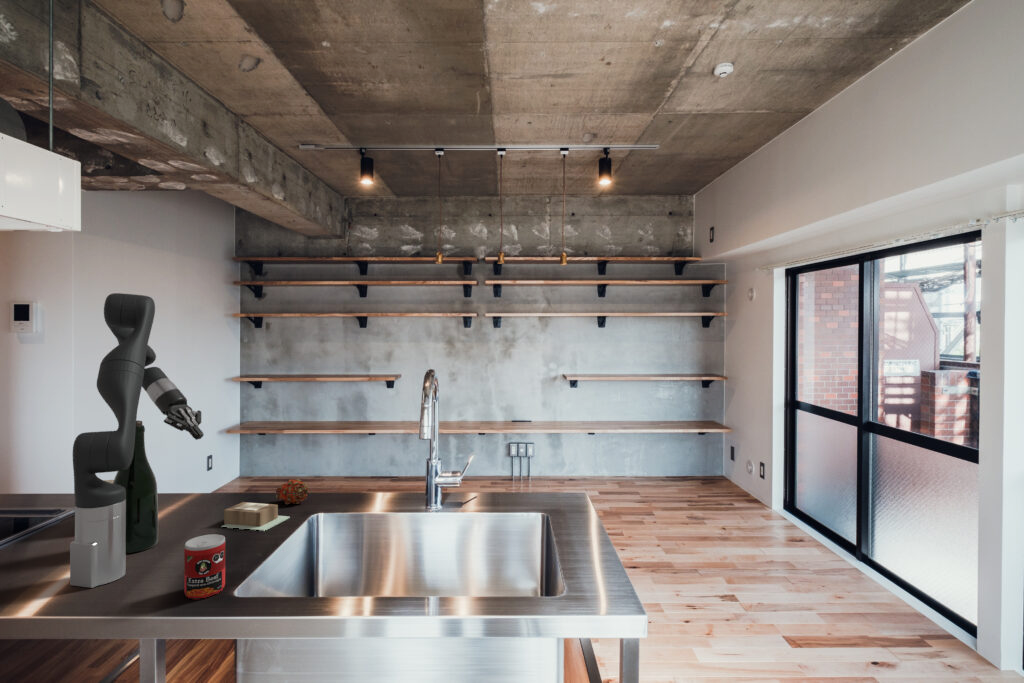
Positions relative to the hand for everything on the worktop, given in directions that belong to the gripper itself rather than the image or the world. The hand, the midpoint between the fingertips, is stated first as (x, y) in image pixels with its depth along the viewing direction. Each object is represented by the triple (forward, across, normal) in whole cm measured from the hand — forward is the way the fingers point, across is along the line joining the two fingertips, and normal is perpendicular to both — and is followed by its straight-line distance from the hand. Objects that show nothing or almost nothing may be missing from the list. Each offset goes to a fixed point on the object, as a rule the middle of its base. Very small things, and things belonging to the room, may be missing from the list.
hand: (200, 437), depth 166 cm
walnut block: (+24, 0, +7) cm, 25 cm away
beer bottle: (+19, -24, +16) cm, 35 cm away
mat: (+31, 0, +3) cm, 31 cm away
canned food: (+45, -41, -10) cm, 62 cm away
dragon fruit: (+30, +20, +5) cm, 36 cm away
